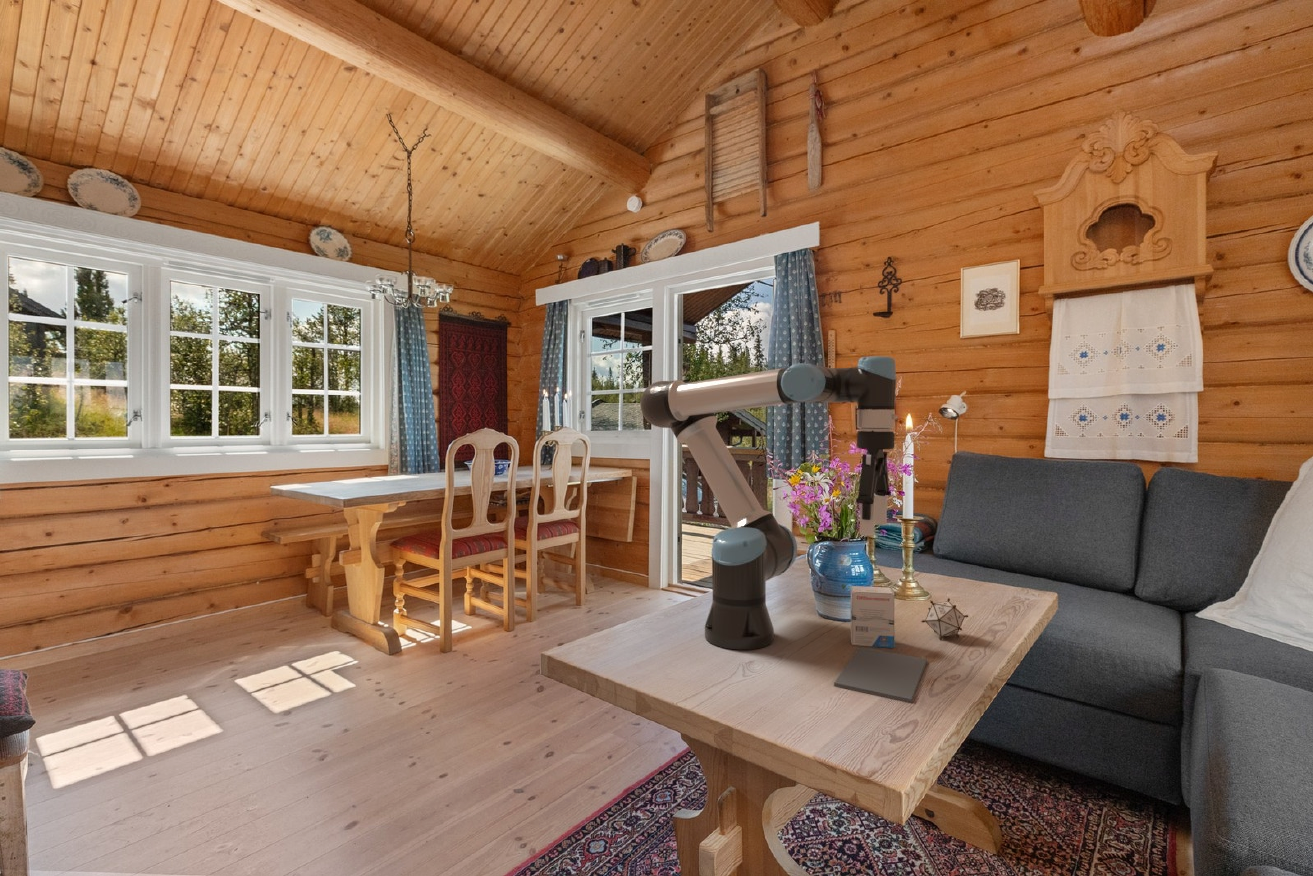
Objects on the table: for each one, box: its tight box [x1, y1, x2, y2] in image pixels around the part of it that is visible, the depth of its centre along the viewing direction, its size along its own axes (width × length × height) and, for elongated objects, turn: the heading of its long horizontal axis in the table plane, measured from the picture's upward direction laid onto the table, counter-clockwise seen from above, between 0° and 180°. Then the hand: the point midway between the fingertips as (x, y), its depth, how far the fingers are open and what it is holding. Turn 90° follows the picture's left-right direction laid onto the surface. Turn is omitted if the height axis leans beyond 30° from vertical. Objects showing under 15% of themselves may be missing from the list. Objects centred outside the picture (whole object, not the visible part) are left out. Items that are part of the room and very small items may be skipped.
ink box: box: [850, 585, 895, 649], centre depth 130 cm, size 9×5×12 cm, turn 76°
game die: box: [920, 597, 969, 641], centre depth 134 cm, size 9×8×10 cm
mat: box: [833, 646, 928, 704], centre depth 115 cm, size 13×20×1 cm, turn 149°
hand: (873, 530), depth 130 cm, fingers open, 13 cm apart
